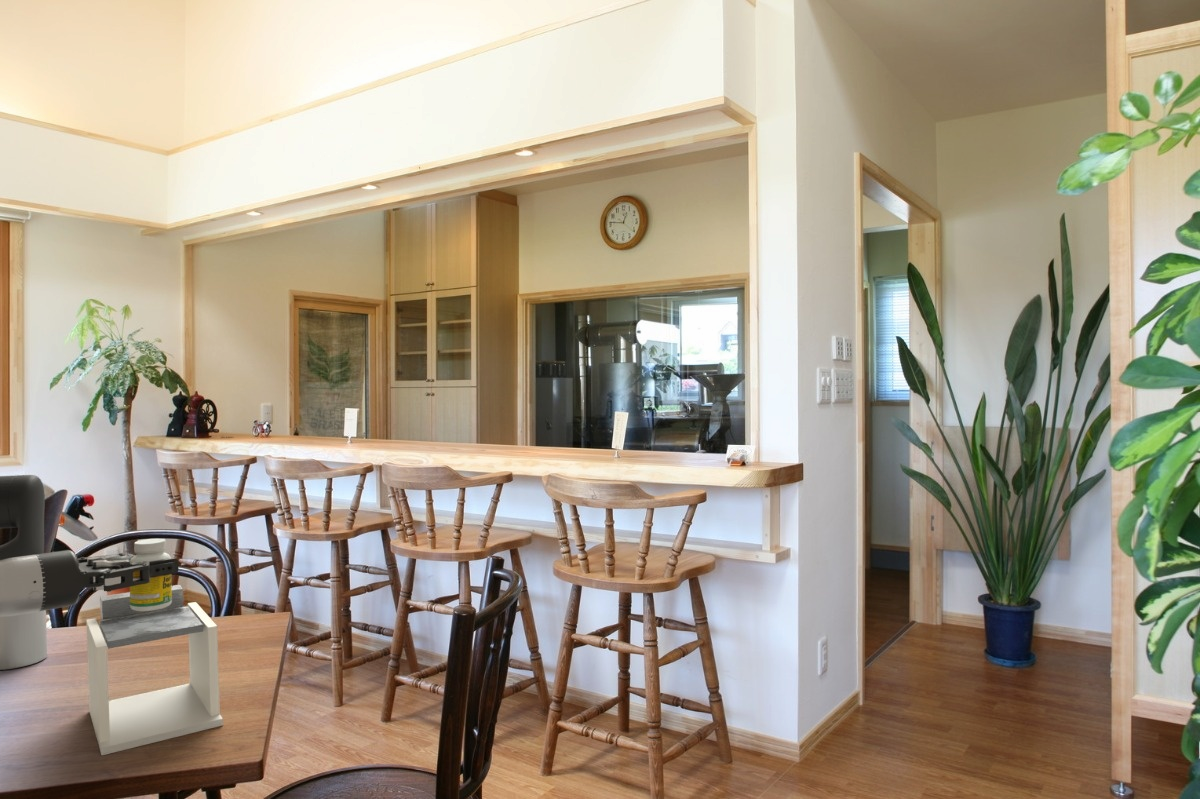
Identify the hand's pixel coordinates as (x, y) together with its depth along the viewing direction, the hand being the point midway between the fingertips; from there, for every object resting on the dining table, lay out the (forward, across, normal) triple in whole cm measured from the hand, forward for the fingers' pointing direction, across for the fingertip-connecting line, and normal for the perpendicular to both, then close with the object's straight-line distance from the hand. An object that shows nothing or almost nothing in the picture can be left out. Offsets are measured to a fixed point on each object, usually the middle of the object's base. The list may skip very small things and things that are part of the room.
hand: (169, 562), depth 120 cm
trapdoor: (-2, +4, +10) cm, 11 cm away
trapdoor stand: (-2, +2, +23) cm, 23 cm away
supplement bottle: (-3, 0, +6) cm, 7 cm away
